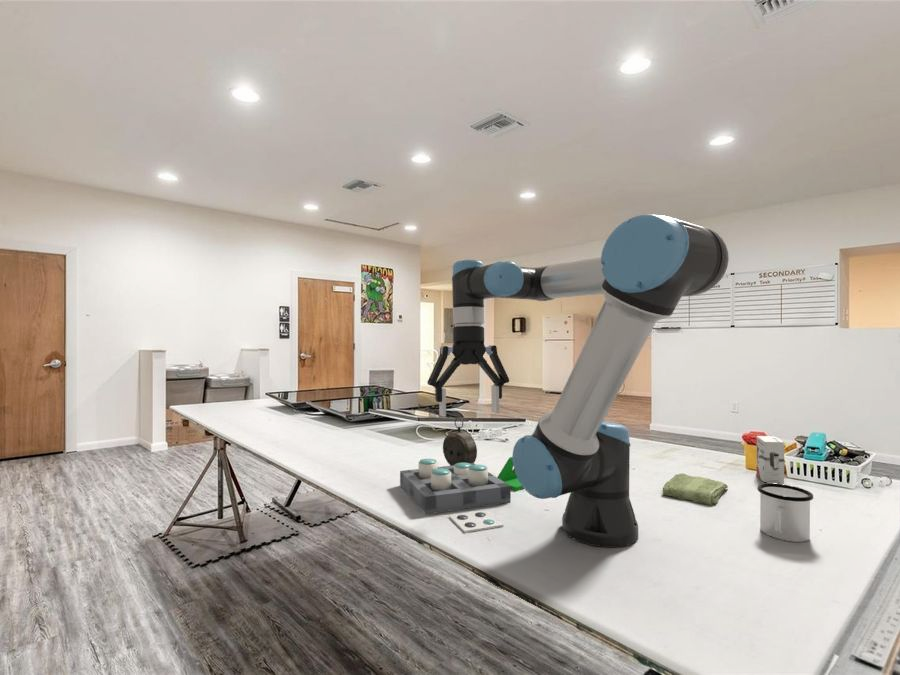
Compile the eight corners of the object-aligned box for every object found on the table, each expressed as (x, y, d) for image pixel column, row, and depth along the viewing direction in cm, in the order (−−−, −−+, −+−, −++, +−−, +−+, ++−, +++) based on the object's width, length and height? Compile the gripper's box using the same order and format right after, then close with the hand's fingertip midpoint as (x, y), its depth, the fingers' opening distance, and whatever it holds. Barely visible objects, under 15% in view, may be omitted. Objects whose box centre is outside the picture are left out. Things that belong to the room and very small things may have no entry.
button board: (510, 502, 115) (510, 485, 115) (425, 514, 107) (425, 496, 107) (474, 477, 136) (474, 463, 136) (400, 485, 128) (400, 470, 128)
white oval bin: (762, 521, 104) (762, 480, 104) (816, 533, 97) (816, 490, 97) (749, 537, 95) (749, 493, 95) (807, 553, 89) (808, 505, 89)
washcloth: (729, 490, 126) (729, 478, 126) (715, 509, 112) (715, 495, 112) (676, 480, 134) (676, 469, 134) (657, 496, 121) (657, 484, 121)
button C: (491, 486, 117) (491, 468, 117) (473, 488, 115) (473, 470, 115) (482, 480, 122) (482, 463, 122) (465, 482, 120) (465, 465, 120)
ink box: (755, 474, 139) (755, 434, 139) (774, 476, 137) (775, 436, 137) (764, 483, 131) (764, 441, 131) (784, 485, 129) (785, 442, 129)
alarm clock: (478, 473, 140) (478, 418, 140) (465, 477, 136) (465, 421, 136) (452, 466, 147) (452, 414, 147) (439, 469, 144) (439, 416, 144)
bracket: (516, 492, 124) (516, 466, 124) (495, 485, 130) (495, 460, 130) (546, 483, 131) (546, 459, 131) (525, 477, 137) (525, 453, 137)
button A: (454, 490, 114) (454, 472, 114) (434, 493, 112) (434, 474, 112) (446, 484, 118) (446, 467, 118) (428, 487, 117) (428, 469, 117)
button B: (440, 479, 123) (440, 462, 123) (421, 481, 121) (421, 464, 121) (433, 473, 128) (433, 457, 128) (416, 475, 126) (416, 459, 126)
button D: (475, 482, 127) (475, 466, 127) (457, 484, 125) (457, 468, 125) (467, 477, 131) (467, 461, 131) (451, 479, 130) (451, 463, 129)
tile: (503, 526, 101) (503, 523, 101) (464, 532, 97) (464, 530, 97) (485, 511, 109) (485, 509, 109) (449, 517, 106) (449, 514, 106)
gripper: (508, 326, 121) (509, 409, 120) (414, 326, 112) (415, 415, 112) (522, 325, 114) (523, 413, 113) (422, 324, 105) (423, 419, 105)
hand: (469, 414), depth 113 cm, fingers open, 13 cm apart
